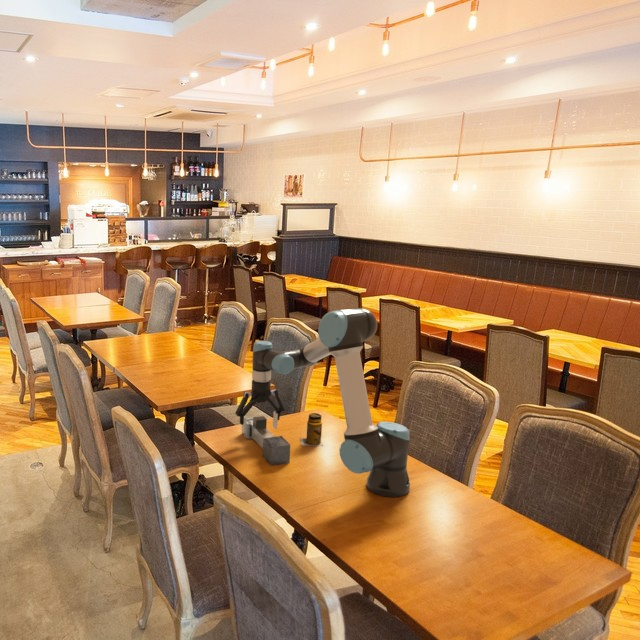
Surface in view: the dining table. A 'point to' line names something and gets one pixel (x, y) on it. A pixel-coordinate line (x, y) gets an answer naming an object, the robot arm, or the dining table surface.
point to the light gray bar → (259, 429)
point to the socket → (247, 429)
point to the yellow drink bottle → (313, 431)
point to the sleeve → (276, 450)
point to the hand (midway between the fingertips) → (259, 429)
